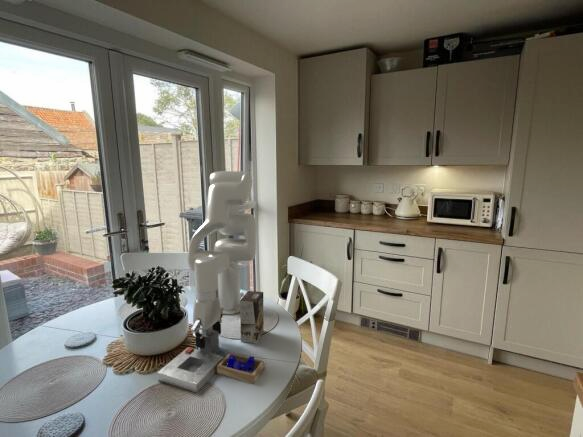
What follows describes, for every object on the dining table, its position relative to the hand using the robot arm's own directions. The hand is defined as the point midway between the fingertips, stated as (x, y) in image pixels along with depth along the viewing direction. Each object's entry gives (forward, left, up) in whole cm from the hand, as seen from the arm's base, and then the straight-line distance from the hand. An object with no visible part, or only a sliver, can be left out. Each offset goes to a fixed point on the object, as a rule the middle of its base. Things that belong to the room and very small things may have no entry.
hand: (209, 340), depth 111 cm
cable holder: (+5, +16, -4) cm, 17 cm away
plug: (0, 0, -4) cm, 4 cm away
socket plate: (+12, +2, -4) cm, 12 cm away
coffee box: (-13, +10, -4) cm, 17 cm away
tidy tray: (+6, +16, -4) cm, 17 cm away
